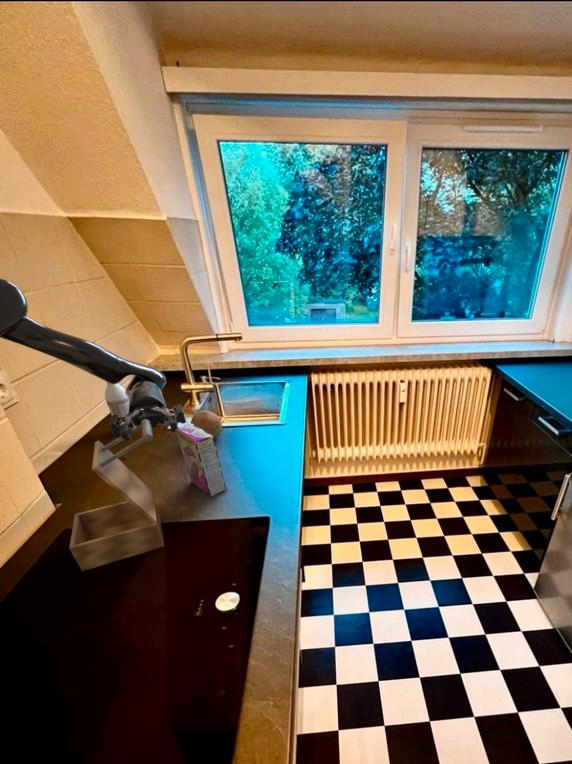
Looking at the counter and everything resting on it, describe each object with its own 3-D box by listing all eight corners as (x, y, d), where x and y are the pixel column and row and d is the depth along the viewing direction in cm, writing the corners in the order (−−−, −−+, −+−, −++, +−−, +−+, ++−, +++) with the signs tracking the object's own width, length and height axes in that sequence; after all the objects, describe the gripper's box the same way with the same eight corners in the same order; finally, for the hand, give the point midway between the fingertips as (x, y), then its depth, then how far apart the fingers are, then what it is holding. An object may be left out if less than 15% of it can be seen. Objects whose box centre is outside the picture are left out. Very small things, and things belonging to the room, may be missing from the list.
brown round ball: (229, 432, 133) (223, 405, 128) (217, 446, 125) (211, 417, 120) (202, 432, 134) (195, 404, 129) (189, 445, 126) (181, 416, 120)
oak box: (82, 571, 79) (69, 548, 76) (86, 535, 88) (74, 513, 85) (164, 546, 85) (155, 524, 82) (159, 515, 94) (152, 494, 91)
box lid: (91, 469, 71) (148, 435, 73) (94, 442, 80) (145, 412, 82) (153, 523, 81) (201, 492, 83) (150, 493, 91) (193, 466, 93)
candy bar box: (190, 482, 107) (173, 428, 98) (206, 475, 110) (192, 422, 101) (210, 498, 100) (194, 442, 92) (227, 490, 104) (214, 435, 95)
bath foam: (116, 428, 137) (94, 372, 127) (137, 423, 141) (118, 368, 130) (119, 435, 133) (97, 378, 122) (141, 430, 136) (121, 374, 125)
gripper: (106, 395, 85) (102, 421, 73) (176, 385, 90) (182, 407, 78) (119, 427, 89) (116, 456, 77) (184, 415, 94) (192, 441, 82)
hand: (150, 432), depth 77 cm, fingers open, 8 cm apart
